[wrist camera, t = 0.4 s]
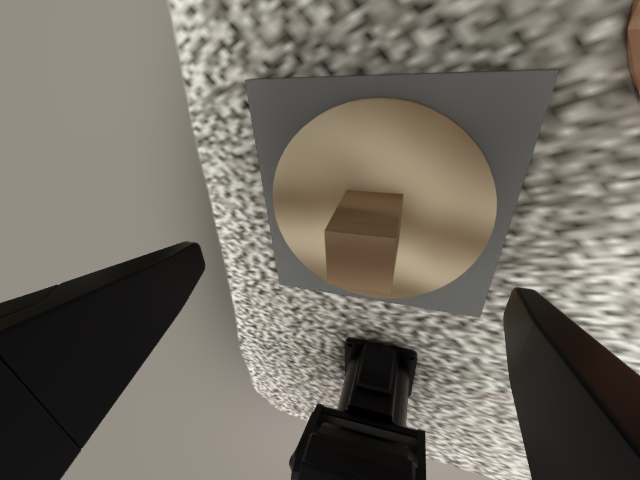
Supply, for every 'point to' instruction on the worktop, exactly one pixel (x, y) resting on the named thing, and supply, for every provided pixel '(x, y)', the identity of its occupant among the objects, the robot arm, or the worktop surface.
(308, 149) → the lid
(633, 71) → the bowl
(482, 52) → the worktop surface
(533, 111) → the mat
